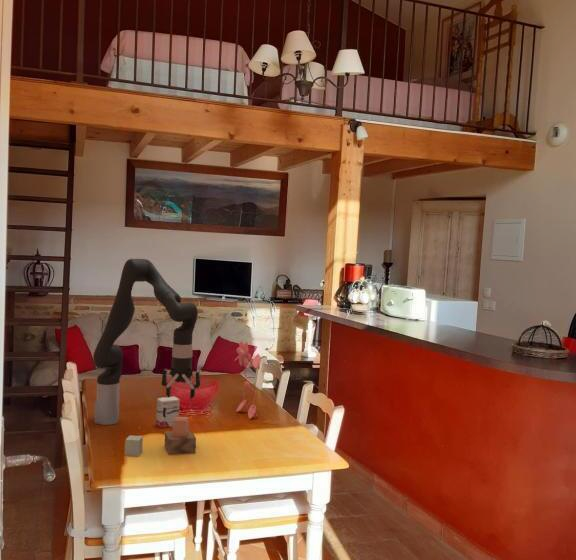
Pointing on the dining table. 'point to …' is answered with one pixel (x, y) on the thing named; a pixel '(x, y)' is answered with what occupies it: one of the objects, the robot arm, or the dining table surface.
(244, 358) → the pink artificial flower
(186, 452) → the walnut block
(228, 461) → the dining table surface
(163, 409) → the ink box
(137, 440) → the sage block
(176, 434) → the terracotta block
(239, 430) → the dining table surface
